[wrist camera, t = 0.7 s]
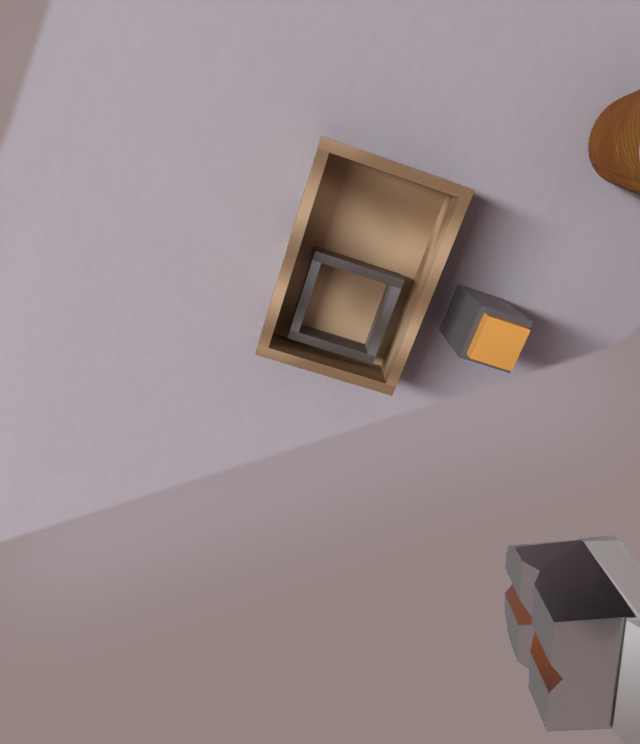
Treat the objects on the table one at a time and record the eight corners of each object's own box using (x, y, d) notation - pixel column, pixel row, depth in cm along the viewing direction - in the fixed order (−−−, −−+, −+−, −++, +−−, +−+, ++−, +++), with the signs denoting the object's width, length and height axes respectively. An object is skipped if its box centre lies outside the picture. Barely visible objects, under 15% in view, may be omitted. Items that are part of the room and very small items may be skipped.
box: (320, 137, 43) (321, 135, 39) (457, 186, 44) (474, 190, 40) (260, 335, 48) (255, 354, 44) (384, 372, 50) (392, 395, 45)
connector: (458, 284, 47) (485, 309, 40) (503, 299, 48) (538, 326, 40) (439, 329, 49) (462, 361, 41) (483, 343, 49) (514, 378, 42)
